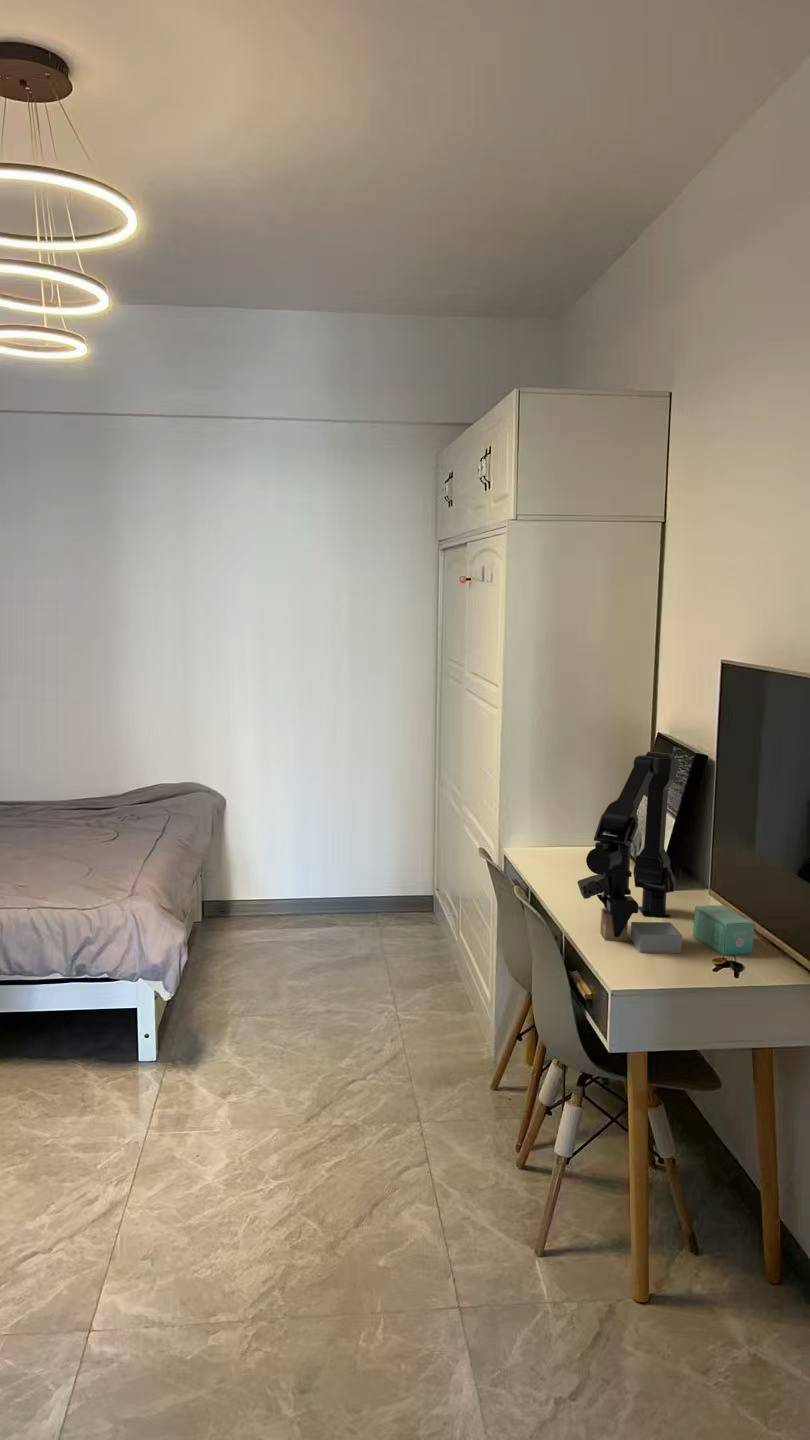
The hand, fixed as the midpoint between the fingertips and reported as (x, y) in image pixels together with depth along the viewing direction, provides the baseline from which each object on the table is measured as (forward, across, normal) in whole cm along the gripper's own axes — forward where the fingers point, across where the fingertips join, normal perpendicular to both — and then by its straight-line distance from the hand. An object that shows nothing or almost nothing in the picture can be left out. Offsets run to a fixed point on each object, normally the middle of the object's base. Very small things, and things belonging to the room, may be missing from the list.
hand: (613, 932), depth 246 cm
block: (+1, 0, 0) cm, 1 cm away
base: (+1, +6, +8) cm, 10 cm away
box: (+1, +5, +23) cm, 24 cm away
